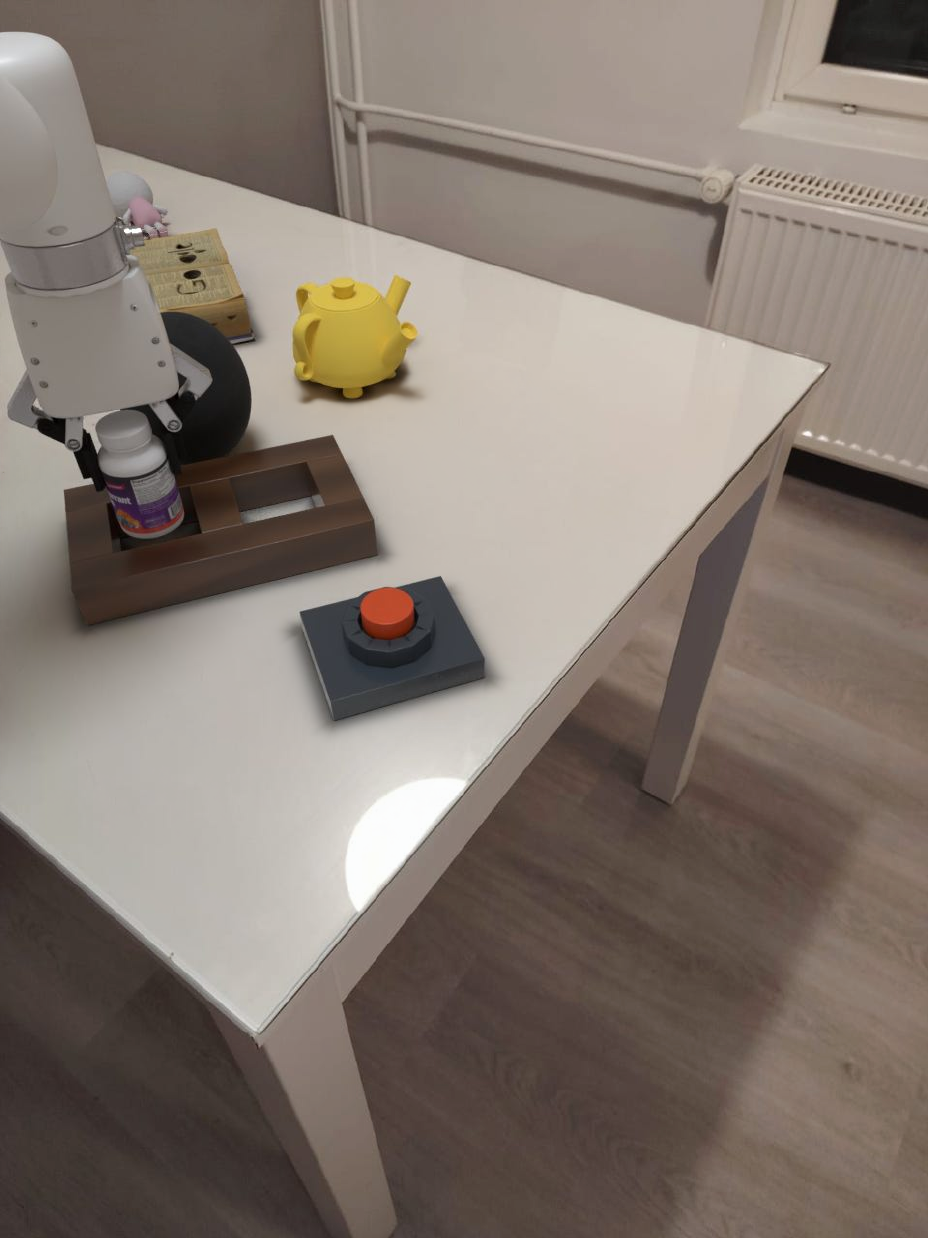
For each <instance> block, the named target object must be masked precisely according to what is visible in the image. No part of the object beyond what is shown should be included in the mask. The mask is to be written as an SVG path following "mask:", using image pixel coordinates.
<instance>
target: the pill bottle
mask: <svg viewBox="0 0 928 1238" xmlns="http://www.w3.org/2000/svg"><path fill="white" fill-rule="evenodd" d="M94 426H95V427H94V429H95V433H96V437H97V439H98V442H99V444H100V447H99V448H98V451H97V462H98V466H99V469H100V472H101V474H102V477H103V480H104V483H105V486H106V488H107V491H108V494H109V496H110V499H111V502H112V505H113V508H114V510H115V513H116V516H117V519H118V521H119V524H120V526H121V528H122V529H123V531H124V532H125V533H127V534H128V535H130V536H129V537H133V538H136V539H141V540H148V539H156V538H161V537H163V536H166V535H168V534H170V533H172V532H173V531H175V530H176V529H178V527H179V526H181V525H182V524H181V522H182V521H183V518H184V509H183V505H182V501H181V498H180V495H179V491H178V488H177V484H176V481H175V477H174V475H173V472H172V468H171V465H170V462H169V458H168V455H167V451H166V448H165V445H164V443H163V442H162V440H160V439H159V438H158V437H157V436H155V435H153V434H152V429H151V427H150V424H149V421H148V419H147V417H146V415H145V414H143V413H142V412H139V411H136V410H120V409H119V410H115V411H111V412H110V413H108V414H105V415H104V416H102V417H101V418H100V419H98V421H97V422H96V423H95V425H94ZM180 524H181V525H180Z"/></svg>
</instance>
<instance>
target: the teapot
mask: <svg viewBox="0 0 928 1238" xmlns="http://www.w3.org/2000/svg"><path fill="white" fill-rule="evenodd" d="M411 284H412V282H410V281H409V280H408V279H405V278H404V277H401V276H400V275H396V274H394V276H393V278H392V280H391V282H390V285H389V288H388V289H387V292H386V294H385V296H383V295H382V293H381V292H380V291H379V290H378V289H377V288H376V287H374V286H372V285H371V284H368V283H366V282H363V281H362V282H361V281H355V279H354V278H352V277H347V276H339V277H335V278H334V279H332V280H331V281H330V282H329V283H326V284H325V283H324V284H323V285H321V286H319V285H318V284H316V283H314V282H305V283H302V284H301V285H299V286H298V287H297V289H296V291H295V298H296V303H297V307H298V311H299V315H298V317H297V320H296V321H295V323H294V325H293V328H292V356H293V361H294V363H295V366H294V370H293V374H294V376H295V377H296V379H298V380H300V381H310V382H312V383H317V384H321V385H324V386H328V387H332V388H338V389H342V395H343V396H344V397H345V398H347V399H357V398H360V397H361V396H362V395H363V394H364V391H363V387H367V386H371V385H375V384H377V383H380V382H382V381H384V380H390V379H392V378H394V377H396V375H397V373H396V370H397V368H398V367H399V366H400V365H401V364H402V362H403V360H404V359H405V356H406V353H407V348H408V347H409V346H410V345H411V344H412V343H413V342H414V341H415V339H416V338H417V337H418V334H419V333H418V329H417V327H416V326H415V325H414V324H413V323H411V322H410V321H403V322H400V320H399V317H398V316H399V313H400V311H401V309H402V306H403V303H404V301H405V299H406V296H407V294H408V292H409V290H410V287H411Z"/></svg>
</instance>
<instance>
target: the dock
mask: <svg viewBox="0 0 928 1238" xmlns="http://www.w3.org/2000/svg"><path fill="white" fill-rule="evenodd" d="M180 467H181V471H182V475H177V476H176V474H174V477H175V481H176V484H177V488H178V491H179V495H180V498H181V501H182V505H183V509H184V518H183V521H182V522H181V524H180V525H179V526H181V525H186V524H189V523H193V522H198V523H199V528H200V532H201V533H197V534H193V535H189V536H183V537H180V538H175V539H171V540H166V541H161V542H157V543H153V544H149V545H148V544H147V545H144V546H140V547H136V548H135V547H134V548H131V549H125V550H122V545H121V539H122V538H126V537H131V536H130V535H128V534H127V533H125V532H124V531H123V529H122V528H121V526H120V524H119V521H118V519H117V516H116V513H115V510H114V508H113V505H112V502H111V499H110V496H109V494H108V491H107V488H106V489H103V490H104V491H100V492H97V491H96V489H95V486H94V483H90V484H85V485H81V486H76V487H70V488H66V489H63V499H64V510H65V512H64V513H65V523H66V524H65V525H66V534H67V549H68V560H69V572H70V573H69V574H70V585H71V592H72V594H73V597H74V599H75V601H76V603H77V605H78V608H79V610H80V613H81V615H82V616H83V619H84V621H85V623H86V626H91V625H95V624H99V623H103V622H108V621H111V620H117V619H119V618H120V619H121V618H124V617H128V616H131V615H136V614H140V613H144V612H149V611H153V610H156V609H160V608H164V607H168V606H169V607H170V606H173V605H177V604H181V603H185V602H189V601H194V600H198V599H203V598H205V597H206V598H207V597H210V596H214V595H219V594H222V593H226V592H231V591H235V590H239V589H243V588H247V587H251V586H255V585H260V584H263V583H268V582H271V581H276V580H279V579H280V580H281V579H284V578H288V577H293V576H296V575H300V574H305V573H309V572H313V571H317V570H321V569H325V568H330V567H334V566H338V565H342V564H346V563H351V562H355V561H358V560H363V559H366V558H371V557H375V556H378V555H379V552H378V551H379V550H378V541H377V532H376V531H377V530H376V521H375V520H376V519H375V518H374V516H373V514H372V511H371V509H370V508H369V506H368V503H367V502H366V500H365V498H364V495H363V493H362V491H361V489H360V487H359V485H358V483H357V481H356V479H355V477H354V475H353V472H352V471H351V468H350V467H349V464H348V463H347V461H346V458H345V456H344V454H343V453H342V450H341V448H340V446H339V444H338V442H337V440H336V438H335V436H334V434H330V435H325V436H320V437H315V438H310V439H304V440H301V441H295V442H291V443H285V444H281V445H276V446H271V447H266V448H262V449H255V450H252V451H246V452H242V453H237V454H236V453H235V454H231V455H226V456H225V457H222V458H217V459H212V460H207V461H202V462H197V463H192V464H187V465H180ZM105 487H106V486H105ZM307 497H311V498H312V500H313V503H314V505H315V507H313V508H309V509H304V510H300V511H295V512H291V513H290V512H289V513H286V514H281V515H277V516H273V517H269V518H268V517H267V518H263V519H260V520H259V519H258V520H254V521H250V522H246V523H244V522H243V520H242V516H241V513H240V512H243V511H248V510H253V509H258V508H261V507H266V506H270V505H275V504H279V503H285V502H290V501H293V500H298V499H302V498H307Z"/></svg>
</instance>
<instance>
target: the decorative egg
mask: <svg viewBox="0 0 928 1238" xmlns="http://www.w3.org/2000/svg"><path fill="white" fill-rule="evenodd" d="M161 317H162V320H163V323H164V326H165V329H166V332H167V335H168V339H169V342H170V343H171V344H172V345H174V346H175V347H177V348H178V349H179V350H181V351H182V352H184V353H185V354H187V355H188V356H190V357H191V358H193V359H194V360H196V361H197V362H199V363H200V364H201V365H203V366H204V367H206V368H207V369H208V370H209V371H210V374H211V377H212V383H211V385H210V386H209V387H208V388H207V389H206V391H205V392H204V393H203V394H202V395H201V396H200V397H199V398H198V399H197V400H196V403H195V405H194V407H193V408H192V409H191V411H190V412H189V414H188V415H187V416H186V418H185V419H184V420H183V422H182V427H181V429H180V434H181V437H182V441H183V444H184V448H185V452H186V456H187V459H182V460H179V462H180V466H182V465H187V464H192V463H197V462H202V461H207V460H212V459H217V458H222V457H226V456H228V455H229V454H230V453H231V452H232V451H233V450H234V449H235V448H236V447H237V446H238V444H239V443H240V442H241V440H242V439H243V437H244V435H245V433H246V431H247V428H248V425H249V422H250V419H251V413H252V403H253V402H252V399H253V398H252V388H251V382H250V379H249V374H248V371H247V369H246V367H245V363H244V362H243V359H242V358H241V356H240V354H239V352H238V350H237V349H236V348H235V345H234V344H233V343H232V344H231V342H230V341H229V340H228V339H227V338H226V336H225V335H224V334H223V333H221V332H220V331H219V330H218V329H217V328H216V327H214V326H213V325H211V324H210V323H208V322H207V321H205V320H203V319H201V318H199V317H196V316H194V315H191V314H187V313H183V312H161ZM177 375H178V382H179V387H180V386H182V385H184V383H185V381H186V380H187V378H186V377H185V376H183V375H182V374H180V373H178V372H177ZM171 398H172V397H171ZM120 410H136V411H139V412H142V413H143V414H145V415H146V417H147V419H148V421H149V424H150V427H151V429H152V434H153V435H155V436H157V437H158V438H159V439H160V440H162V442H163V443H164V441H163V438H162V434H161V429H160V425H159V421H158V419H159V417H158V416H157V415H156V413H155V412H154V411H153V409H152V408H151V407H150V405H149V404H146V405H141V406H135V407H130V408H125V409H119V411H120Z"/></svg>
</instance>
